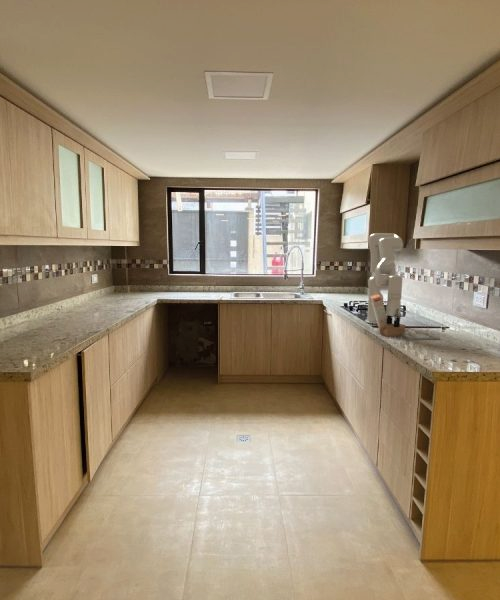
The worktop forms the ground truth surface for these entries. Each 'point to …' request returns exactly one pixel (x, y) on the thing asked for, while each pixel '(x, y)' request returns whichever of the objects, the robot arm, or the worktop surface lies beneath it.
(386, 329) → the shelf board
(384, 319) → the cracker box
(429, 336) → the peg stand
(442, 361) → the worktop surface
